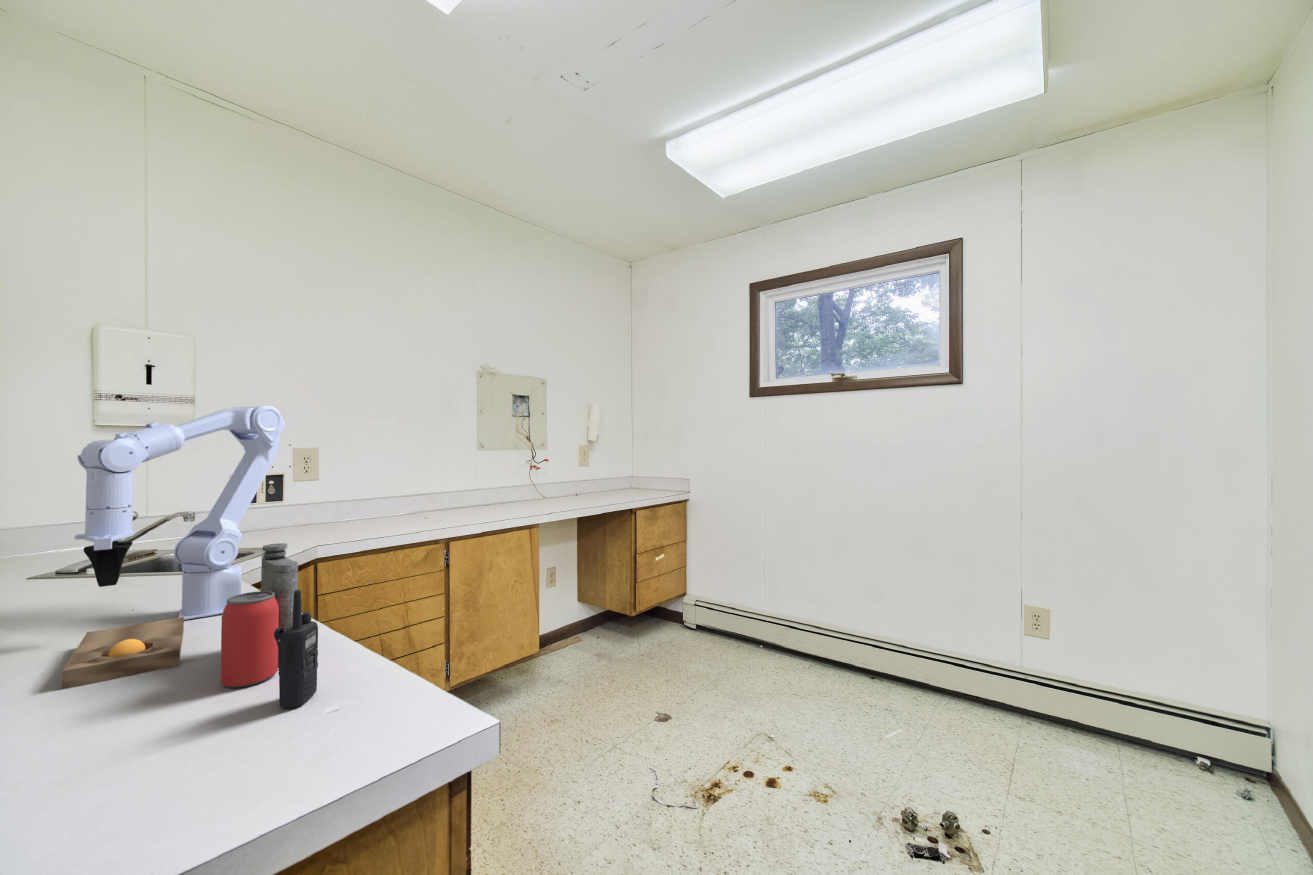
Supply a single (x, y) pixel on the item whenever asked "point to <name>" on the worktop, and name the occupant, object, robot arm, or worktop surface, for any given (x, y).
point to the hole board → (97, 666)
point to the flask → (280, 580)
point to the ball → (126, 648)
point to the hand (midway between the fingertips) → (108, 585)
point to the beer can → (249, 639)
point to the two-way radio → (297, 657)
